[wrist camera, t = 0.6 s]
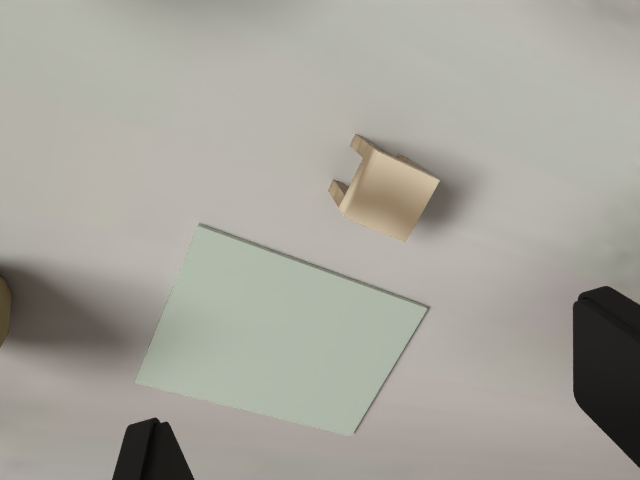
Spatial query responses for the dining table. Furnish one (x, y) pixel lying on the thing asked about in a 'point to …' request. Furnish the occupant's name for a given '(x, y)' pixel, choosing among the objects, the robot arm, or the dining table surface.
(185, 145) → the dining table surface
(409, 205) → the stool
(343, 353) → the mat
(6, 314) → the squeeze bottle
